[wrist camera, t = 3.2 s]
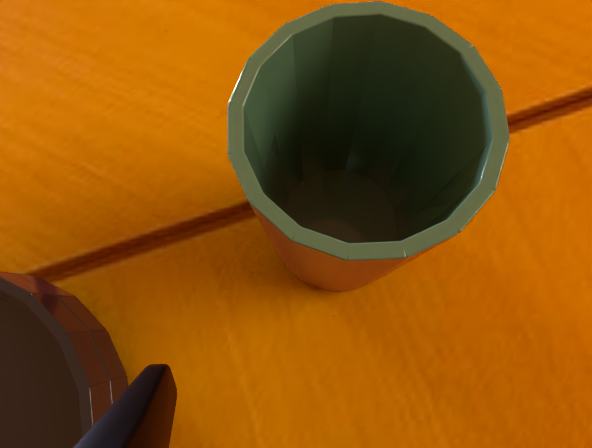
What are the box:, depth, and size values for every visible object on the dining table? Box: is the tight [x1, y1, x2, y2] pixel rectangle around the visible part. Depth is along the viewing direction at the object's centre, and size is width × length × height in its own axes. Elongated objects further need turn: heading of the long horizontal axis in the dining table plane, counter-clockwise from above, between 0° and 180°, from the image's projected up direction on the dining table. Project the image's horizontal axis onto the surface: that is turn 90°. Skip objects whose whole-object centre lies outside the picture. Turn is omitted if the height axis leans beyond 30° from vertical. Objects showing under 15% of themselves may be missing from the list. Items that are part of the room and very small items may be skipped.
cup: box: [228, 1, 510, 291], centre depth 16 cm, size 7×7×12 cm
